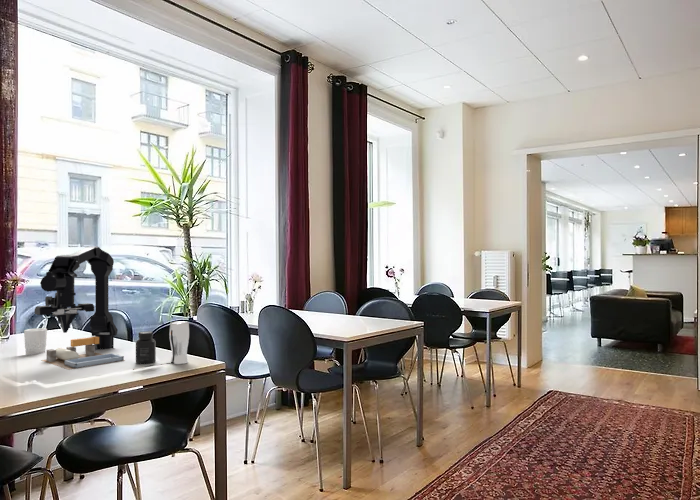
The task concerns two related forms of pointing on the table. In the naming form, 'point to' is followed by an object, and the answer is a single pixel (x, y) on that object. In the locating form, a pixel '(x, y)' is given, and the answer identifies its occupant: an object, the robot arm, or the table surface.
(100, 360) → the tray
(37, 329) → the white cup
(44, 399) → the table surface
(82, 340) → the tie bar
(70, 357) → the off-white cylinder
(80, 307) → the robot arm
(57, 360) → the board
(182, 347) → the beer glass
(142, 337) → the supplement bottle
